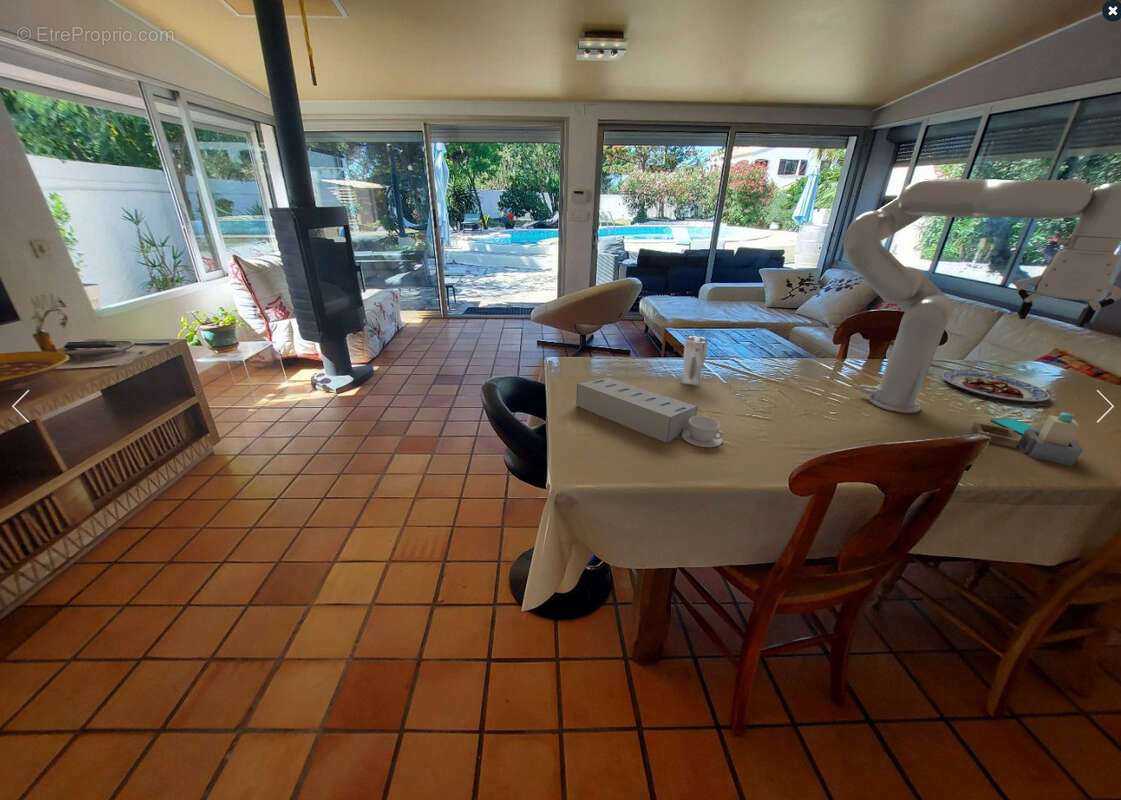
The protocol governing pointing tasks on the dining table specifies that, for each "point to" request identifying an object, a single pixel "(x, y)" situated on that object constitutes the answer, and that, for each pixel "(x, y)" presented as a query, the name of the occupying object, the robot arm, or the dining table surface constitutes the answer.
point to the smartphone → (1013, 425)
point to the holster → (996, 434)
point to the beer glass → (694, 360)
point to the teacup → (703, 432)
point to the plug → (1059, 429)
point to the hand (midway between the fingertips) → (1049, 322)
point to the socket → (1049, 449)
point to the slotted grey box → (636, 407)
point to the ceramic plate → (995, 386)
